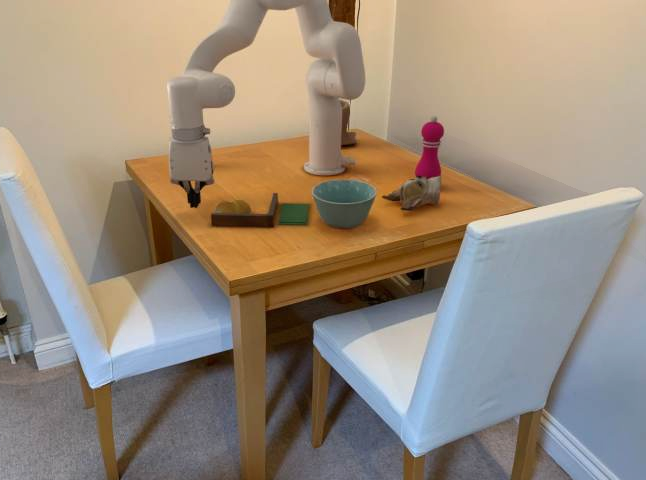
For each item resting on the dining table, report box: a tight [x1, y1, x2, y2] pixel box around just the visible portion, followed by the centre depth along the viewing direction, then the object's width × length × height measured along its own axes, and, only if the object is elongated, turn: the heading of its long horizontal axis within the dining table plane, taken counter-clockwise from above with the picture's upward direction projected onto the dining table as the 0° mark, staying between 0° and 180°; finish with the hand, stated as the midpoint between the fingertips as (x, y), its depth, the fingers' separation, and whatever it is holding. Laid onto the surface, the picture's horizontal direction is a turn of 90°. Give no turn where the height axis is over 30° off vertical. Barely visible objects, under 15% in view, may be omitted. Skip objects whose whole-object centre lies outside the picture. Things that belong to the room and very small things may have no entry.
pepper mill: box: [414, 115, 445, 180], centre depth 160 cm, size 7×7×20 cm
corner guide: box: [210, 192, 279, 228], centre depth 147 cm, size 15×15×3 cm
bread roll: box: [214, 199, 252, 214], centre depth 146 cm, size 8×9×4 cm
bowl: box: [311, 179, 378, 230], centre depth 142 cm, size 16×16×8 cm
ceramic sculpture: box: [381, 175, 442, 212], centre depth 151 cm, size 11×9×15 cm
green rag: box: [277, 202, 310, 226], centre depth 148 cm, size 7×13×1 cm, turn 178°
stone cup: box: [339, 98, 357, 146], centre depth 196 cm, size 15×12×15 cm
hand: (194, 205), depth 146 cm, fingers closed
